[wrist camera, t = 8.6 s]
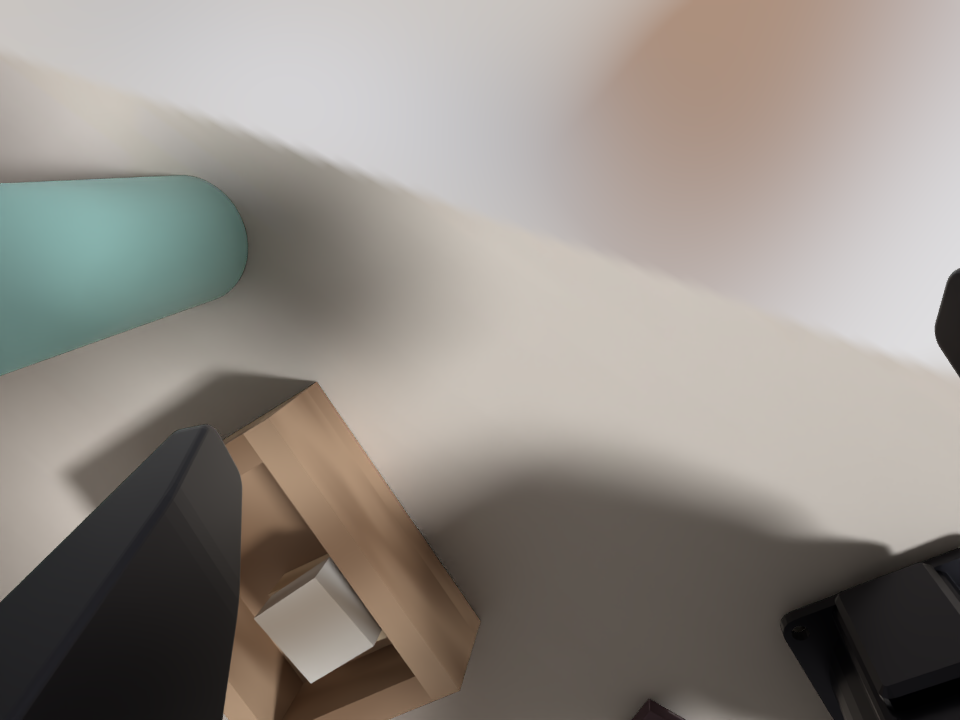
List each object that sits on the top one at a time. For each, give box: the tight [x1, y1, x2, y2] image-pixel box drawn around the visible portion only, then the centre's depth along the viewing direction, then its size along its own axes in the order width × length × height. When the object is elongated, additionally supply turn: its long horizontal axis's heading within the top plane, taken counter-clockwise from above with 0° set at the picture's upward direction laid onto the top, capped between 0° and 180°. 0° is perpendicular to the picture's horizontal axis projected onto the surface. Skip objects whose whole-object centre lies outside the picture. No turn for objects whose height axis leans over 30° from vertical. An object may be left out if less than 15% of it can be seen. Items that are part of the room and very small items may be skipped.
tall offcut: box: [0, 175, 248, 376], centre depth 16 cm, size 4×4×13 cm
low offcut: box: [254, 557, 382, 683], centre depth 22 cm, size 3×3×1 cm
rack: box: [222, 382, 481, 720], centre depth 23 cm, size 10×8×3 cm
